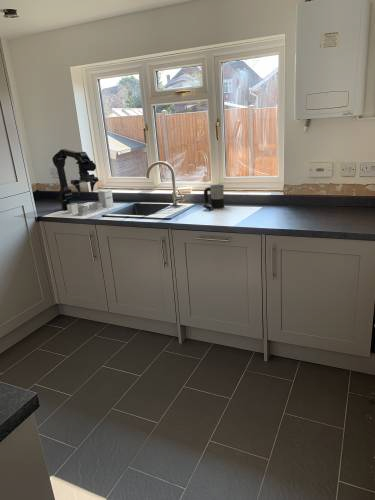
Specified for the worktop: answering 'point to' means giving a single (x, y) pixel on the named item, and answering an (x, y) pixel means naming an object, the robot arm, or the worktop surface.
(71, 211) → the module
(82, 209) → the rail
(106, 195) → the supplement box
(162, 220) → the worktop surface
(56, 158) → the robot arm
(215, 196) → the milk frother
